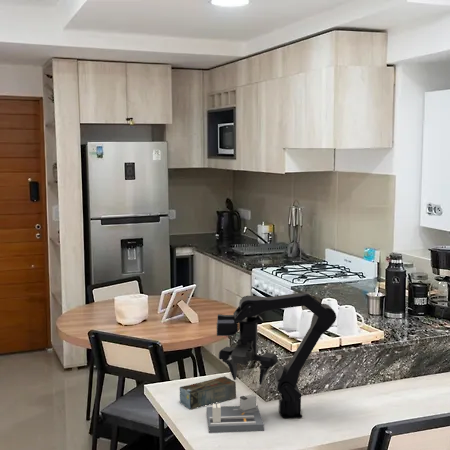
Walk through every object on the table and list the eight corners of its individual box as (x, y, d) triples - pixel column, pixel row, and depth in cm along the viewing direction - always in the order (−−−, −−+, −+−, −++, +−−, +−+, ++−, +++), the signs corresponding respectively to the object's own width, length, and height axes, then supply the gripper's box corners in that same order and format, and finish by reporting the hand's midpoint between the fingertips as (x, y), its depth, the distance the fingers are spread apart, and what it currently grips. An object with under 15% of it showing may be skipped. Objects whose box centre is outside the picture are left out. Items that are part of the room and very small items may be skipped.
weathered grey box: (178, 402, 216) (178, 384, 216) (225, 391, 226) (225, 374, 226) (189, 410, 210) (189, 391, 209) (237, 399, 220) (237, 380, 219)
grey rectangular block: (252, 405, 207) (252, 393, 207) (256, 407, 205) (256, 395, 205) (239, 409, 205) (239, 396, 204) (243, 411, 203) (243, 398, 202)
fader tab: (220, 418, 197) (219, 403, 196) (220, 422, 194) (220, 407, 193) (212, 418, 197) (212, 403, 196) (213, 422, 194) (212, 407, 193)
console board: (257, 410, 209) (257, 403, 208) (263, 430, 194) (263, 422, 193) (206, 412, 207) (206, 405, 207) (209, 432, 192) (209, 424, 192)
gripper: (211, 338, 199) (211, 385, 201) (265, 346, 191) (265, 395, 193) (226, 329, 209) (225, 374, 211) (278, 336, 201) (277, 383, 203)
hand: (247, 382), depth 204 cm, fingers open, 9 cm apart
